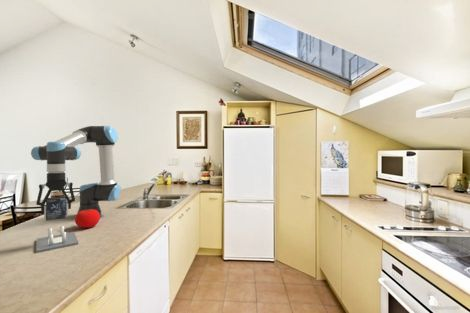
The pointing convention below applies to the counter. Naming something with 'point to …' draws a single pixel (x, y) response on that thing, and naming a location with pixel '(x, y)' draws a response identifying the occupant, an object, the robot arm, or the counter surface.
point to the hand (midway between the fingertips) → (56, 216)
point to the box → (55, 208)
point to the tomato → (87, 218)
